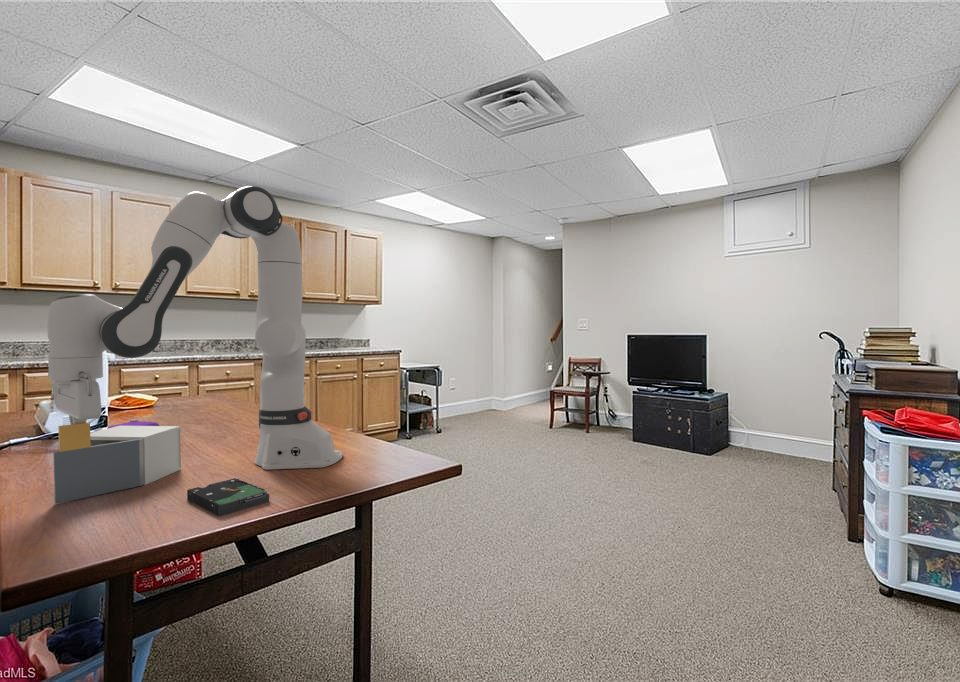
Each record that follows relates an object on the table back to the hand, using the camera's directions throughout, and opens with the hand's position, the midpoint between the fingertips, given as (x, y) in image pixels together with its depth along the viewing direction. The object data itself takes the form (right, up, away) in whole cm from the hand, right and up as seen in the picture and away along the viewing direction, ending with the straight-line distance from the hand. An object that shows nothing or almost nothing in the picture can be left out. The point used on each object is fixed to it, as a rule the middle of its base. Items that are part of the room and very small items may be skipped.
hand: (78, 435), depth 103 cm
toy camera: (-9, -12, +31) cm, 35 cm away
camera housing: (+1, -13, +14) cm, 19 cm away
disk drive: (+33, -14, -2) cm, 36 cm away
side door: (+4, -13, +2) cm, 13 cm away
